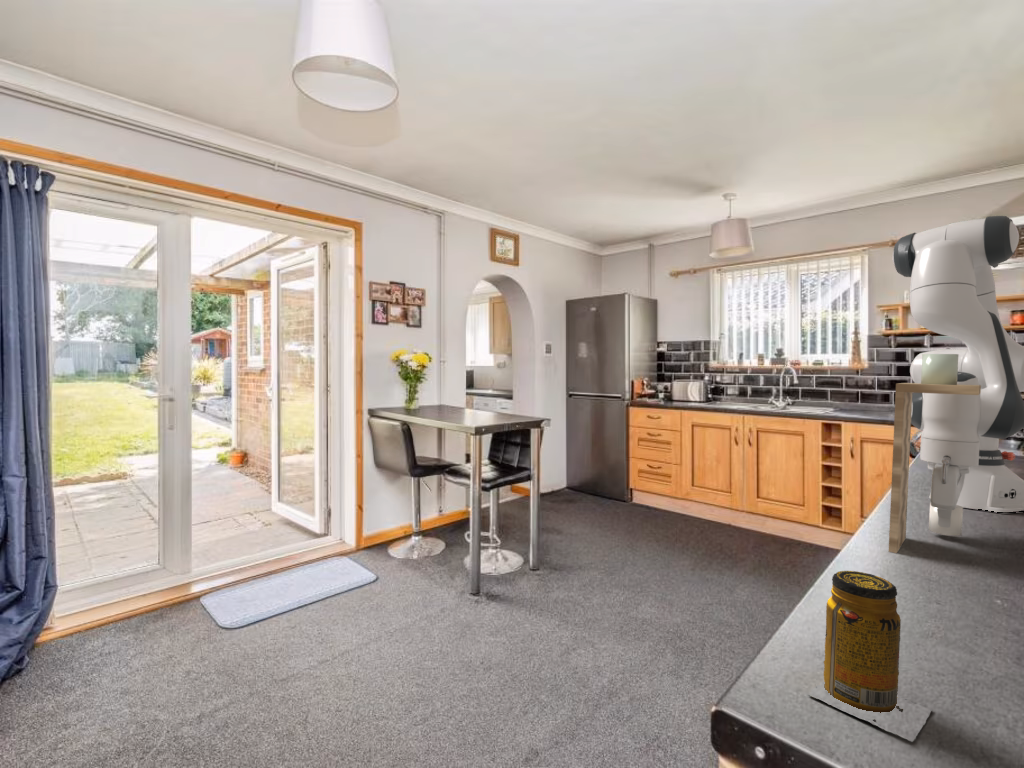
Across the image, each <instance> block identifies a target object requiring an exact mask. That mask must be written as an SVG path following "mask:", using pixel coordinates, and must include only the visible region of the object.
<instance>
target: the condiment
mask: <svg viewBox="0 0 1024 768" xmlns="http://www.w3.org/2000/svg"><path fill="white" fill-rule="evenodd" d="M831 580H832V588H831V589H830V590H831V591H830V592H831V596H830V597H829V598H828V599H827V602H826V606H825V607H826V608H825V609H826V611H825V623H826V624H825V637H824V641H825V642H824V661H823V666H824V667H823V680H824V682H825V684H824V688H825V690H827V691H828V693H830V695H832V696H833V697H834V698H836V699H838V700H840V701H842V702H844V703H847V704H849V705H851V706H853V707H856V708H858V709H862V710H866V711H873V712H880V713H881V712H890V711H892V710H893V709H894V708H895V706H896V704H897V698H898V697H897V695H898V691H899V675H900V670H899V668H900V666H899V664H900V642H901V624H902V623H901V620H902V619H901V617H900V614H899V612H897V609H898V603H897V600H896V599H897V596H898V591H897V590H898V589H897V586H895V585H894V584H893V583H892V582H890V581H889V580H887V579H885V578H884V577H881V576H877V575H875V574H872V573H867V572H863V571H858V570H856V571H855V570H841V571H837V572H836V573H834V574H833V575H832V579H831ZM896 707H897V706H896Z"/></svg>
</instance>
